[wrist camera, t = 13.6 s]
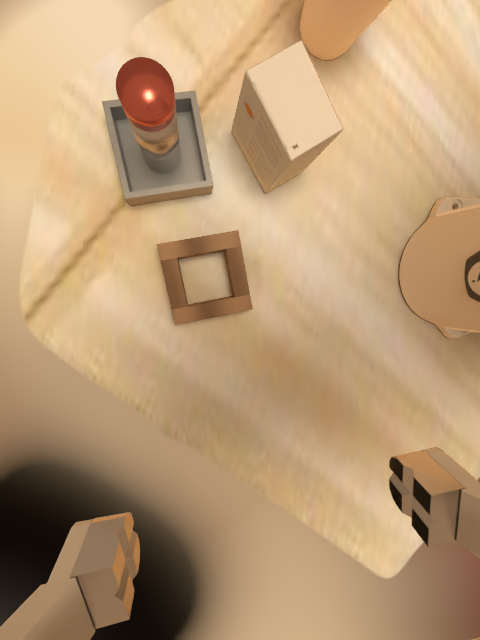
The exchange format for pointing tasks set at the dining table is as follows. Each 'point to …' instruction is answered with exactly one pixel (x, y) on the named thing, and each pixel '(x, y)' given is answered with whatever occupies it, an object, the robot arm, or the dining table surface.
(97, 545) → the robot arm
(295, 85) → the small box
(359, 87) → the dining table surface
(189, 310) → the wooden square frame
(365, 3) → the foam cup
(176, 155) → the red-lidded jar
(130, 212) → the dining table surface
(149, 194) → the tray
